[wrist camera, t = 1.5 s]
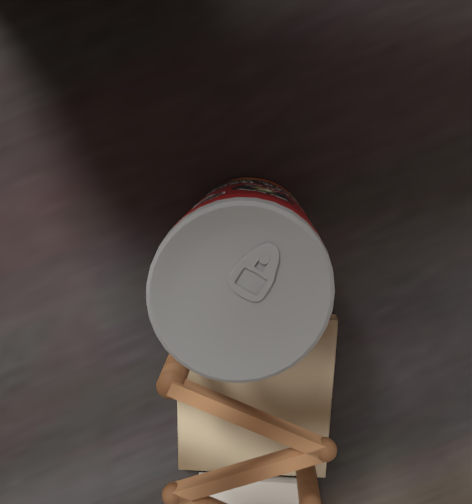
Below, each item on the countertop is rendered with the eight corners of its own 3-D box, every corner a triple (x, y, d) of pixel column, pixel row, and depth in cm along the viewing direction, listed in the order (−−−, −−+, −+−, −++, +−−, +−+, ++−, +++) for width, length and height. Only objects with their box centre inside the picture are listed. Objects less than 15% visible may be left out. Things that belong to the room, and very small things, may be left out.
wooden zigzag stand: (178, 308, 30) (147, 372, 21) (335, 314, 29) (364, 382, 21) (180, 459, 33) (154, 566, 24) (323, 467, 32) (344, 578, 24)
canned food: (323, 193, 27) (364, 228, 17) (286, 309, 29) (301, 406, 19) (204, 160, 27) (168, 174, 16) (175, 279, 29) (126, 359, 18)
